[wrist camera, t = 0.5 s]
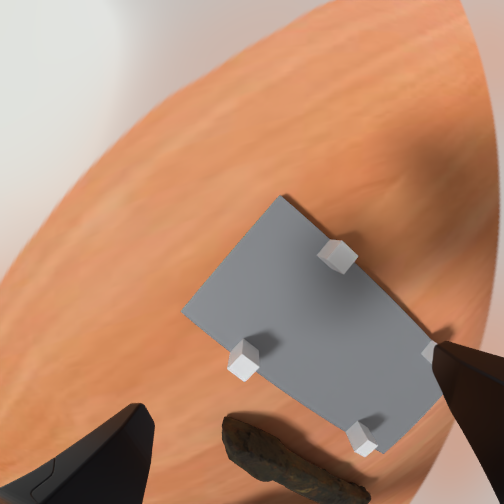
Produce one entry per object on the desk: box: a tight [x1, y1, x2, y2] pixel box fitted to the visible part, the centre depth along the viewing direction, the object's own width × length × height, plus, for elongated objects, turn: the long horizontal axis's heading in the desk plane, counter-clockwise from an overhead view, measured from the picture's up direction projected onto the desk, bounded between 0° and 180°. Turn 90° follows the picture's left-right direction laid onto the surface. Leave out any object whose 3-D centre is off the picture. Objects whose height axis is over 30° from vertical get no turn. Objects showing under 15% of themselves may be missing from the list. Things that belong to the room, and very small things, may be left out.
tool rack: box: [181, 195, 443, 457], centre depth 21 cm, size 11×24×4 cm, turn 49°
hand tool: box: [222, 417, 371, 504], centre depth 21 cm, size 19×4×5 cm, turn 44°
